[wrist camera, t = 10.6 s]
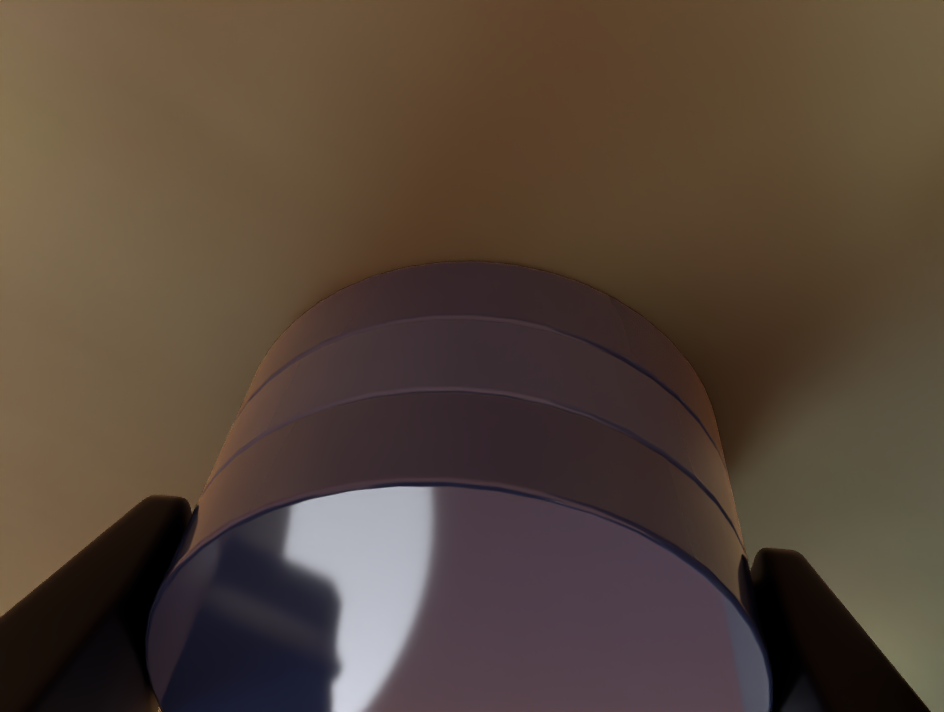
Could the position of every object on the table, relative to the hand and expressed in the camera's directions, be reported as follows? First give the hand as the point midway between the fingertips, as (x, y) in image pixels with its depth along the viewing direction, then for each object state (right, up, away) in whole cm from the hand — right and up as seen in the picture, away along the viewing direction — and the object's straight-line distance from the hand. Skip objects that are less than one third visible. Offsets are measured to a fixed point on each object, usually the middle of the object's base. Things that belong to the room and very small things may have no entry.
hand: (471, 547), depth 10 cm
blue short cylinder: (0, +1, +2) cm, 2 cm away
